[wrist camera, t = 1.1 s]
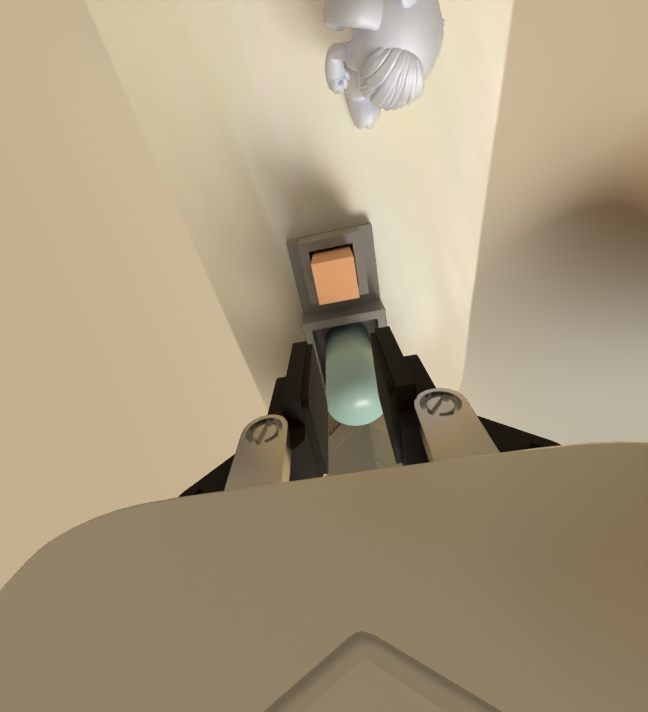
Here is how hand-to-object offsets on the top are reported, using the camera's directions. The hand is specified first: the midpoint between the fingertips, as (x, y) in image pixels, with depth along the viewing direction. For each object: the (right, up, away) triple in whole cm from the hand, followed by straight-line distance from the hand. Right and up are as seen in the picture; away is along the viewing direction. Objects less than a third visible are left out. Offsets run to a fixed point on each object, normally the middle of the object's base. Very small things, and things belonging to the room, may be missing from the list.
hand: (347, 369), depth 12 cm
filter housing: (+1, +6, +21) cm, 22 cm away
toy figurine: (+3, +22, +12) cm, 25 cm away
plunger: (0, +9, +16) cm, 18 cm away
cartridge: (+2, +2, +22) cm, 22 cm away
